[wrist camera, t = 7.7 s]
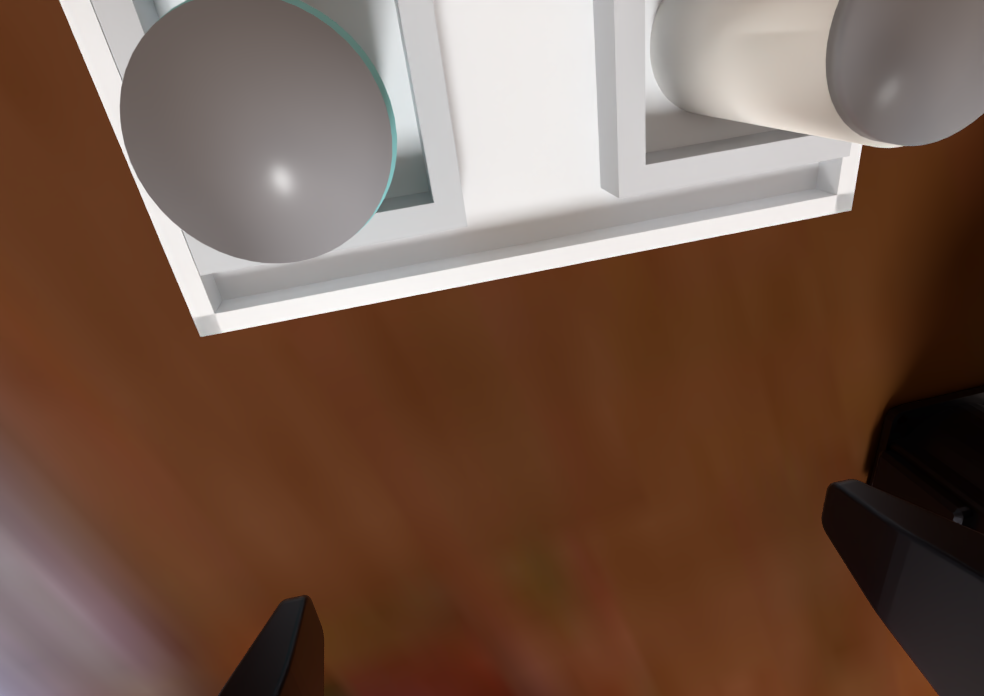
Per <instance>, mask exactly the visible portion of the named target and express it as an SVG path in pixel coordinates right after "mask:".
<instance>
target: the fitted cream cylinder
mask: <svg viewBox="0 0 984 696" xmlns="http://www.w3.org/2000/svg"><path fill="white" fill-rule="evenodd" d="M650 60H651V66H652V70H653V74H654V77H655V80H656V82H657V84H658V86H659V88H660V89H661V91H662V92H663V94H664V95H665V96H666V97H667V99H668V100H669V101H670V102H672V103H673V104H674V105H675V106H677V107H679V108H680V109H682V110H685V111H687V112H690V113H695V114H700V115H705V116H711V117H716V118H721V119H727V120H732V121H738V122H743V123H749V124H754V125H759V126H765V127H770V128H776V129H781V130H786V131H792V132H797V133H803V134H808V135H814V136H819V137H824V138H830V139H835V140H841V141H846V142H852V143H857V144H862V145H868V146H873V147H881V148H893V147H901V146H917V145H925V144H929V143H933V142H937V141H939V140H942V139H944V138H947V137H949V136H951V135H953V134H955V133H956V132H958V131H960V130H962V129H963V128H965V127H966V126H968V125H969V124H971V123H972V122H974V121H975V120H976V119H977V118H979V117H980V116H981V115H982V114H983V113H984V0H662V2H661V4H660V6H659V8H658V11H657V13H656V16H655V19H654V23H653V27H652V32H651V38H650Z"/></svg>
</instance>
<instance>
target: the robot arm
mask: <svg viewBox="0 0 984 696" xmlns="http://www.w3.org/2000/svg"><path fill="white" fill-rule="evenodd" d="M822 524H823V528H824V530H825V532H826V534H827V535H828V537H829V539H830V540H831V542H832V543H833V545H834V547H835V548H836V550H837V551H838V553H839V555H840V556H841V558H842V559H843V561H844V563H845V564H846V566H847V567H848V569H849V571H850V572H851V574H852V575H853V577H854V579H855V580H856V582H857V583H858V585H859V587H860V588H861V590H862V591H863V593H864V595H865V596H866V598H867V599H868V601H869V602H870V604H871V605H872V607H873V608H874V610H875V611H876V613H877V614H878V616H879V617H880V618H881V620H882V621H883V622H884V624H885V625H886V627H887V628H888V629H889V630H890V632H891V633H892V634H893V636H894V637H895V638H896V640H897V641H898V642H899V644H900V645H901V646H902V648H903V649H904V650H905V652H906V653H907V654H908V655H909V657H910V658H911V659H912V661H913V662H914V663H915V665H916V666H917V667H918V669H919V670H920V671H921V673H922V674H923V675H924V676H925V678H926V679H927V680H928V682H929V683H930V684H931V686H932V687H933V688H934V690H935V691H936V692H937V694H938V695H939V696H984V386H981V387H977V388H972V389H968V390H964V391H960V392H955V393H951V394H947V395H943V396H938V397H934V398H930V399H926V400H921V401H917V402H913V403H909V404H904V405H900V406H897V407H894V408H892V409H891V410H890V411H889V412H888V413H887V415H886V417H885V420H884V425H883V429H882V433H881V437H880V442H879V446H878V450H877V454H876V459H875V463H874V467H873V471H872V476H871V480H870V484H869V485H868V484H865V483H863V482H861V481H858V480H855V479H848V480H843V481H839V482H834V483H831V484H830V485H829V486H828V488H827V492H826V497H825V502H824V507H823V512H822ZM218 696H324V635H323V630H322V626H321V624H320V621H319V618H318V616H317V613H316V610H315V608H314V605H313V603H312V600H311V598H310V597H309V596H307V595H303V596H298V597H293V598H288V599H285V600H283V601H282V602H281V603H280V604H279V605H278V607H277V608H276V610H275V611H274V613H273V614H272V616H271V617H270V619H269V620H268V622H267V623H266V625H265V626H264V628H263V629H262V631H261V632H260V634H259V635H258V637H257V638H256V640H255V641H254V643H253V644H252V645H251V647H250V648H249V650H248V651H247V653H246V654H245V656H244V657H243V659H242V660H241V662H240V663H239V665H238V666H237V668H236V669H235V671H234V672H233V674H232V675H231V677H230V678H229V680H228V681H227V683H226V684H225V686H224V687H223V689H222V690H221V692H220V693H219V695H218Z"/></svg>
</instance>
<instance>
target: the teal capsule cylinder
mask: <svg viewBox="0 0 984 696" xmlns="http://www.w3.org/2000/svg"><path fill="white" fill-rule="evenodd" d="M120 123H121V130H122V135H123V140H124V145H125V148H126V150H127V153H128V156H129V159H130V162H131V164H132V166H133V169H134V171H135V173H136V175H137V177H138V179H139V181H140V182H141V184H142V185H143V187H144V188H145V190H146V192H147V193H148V195H149V196H150V197H151V199H152V200H153V201H154V202H155V204H156V205H157V206H158V207H159V209H160V210H161V211H162V212H163V213H164V214H165V215H166V216H167V217H168V218H169V219H170V220H171V221H172V222H173V223H175V224H176V225H177V226H178V227H180V228H181V229H182V230H183V231H185V232H186V233H187V234H188V235H190V236H192V237H193V238H195V239H196V240H198V241H199V242H201V243H203V244H205V245H207V246H209V247H211V248H213V249H215V250H217V251H219V252H222V253H224V254H227V255H230V256H233V257H236V258H240V259H244V260H248V261H253V262H261V263H291V262H299V261H303V260H307V259H312V258H315V257H318V256H320V255H323V254H325V253H328V252H330V251H332V250H333V249H335V248H337V247H339V246H341V245H342V244H344V243H345V242H346V241H348V240H349V239H350V238H352V237H353V236H354V235H355V234H357V233H358V232H359V231H360V230H361V229H362V228H363V227H364V226H365V225H366V224H367V223H368V222H369V221H370V220H371V218H372V217H373V216H374V214H375V213H376V212H377V211H378V209H379V207H380V205H381V204H382V202H383V200H384V198H385V196H386V194H387V192H388V189H389V187H390V184H391V181H392V177H393V173H394V170H395V163H396V155H397V132H396V124H395V117H394V113H393V109H392V105H391V101H390V98H389V96H388V93H387V91H386V88H385V85H384V83H383V81H382V79H381V77H380V75H379V73H378V72H377V70H376V68H375V66H374V65H373V63H372V62H371V60H370V59H369V57H368V56H367V54H366V53H365V52H364V50H363V49H362V48H361V47H360V46H359V45H358V43H357V42H356V41H355V40H354V39H353V38H352V36H350V35H349V34H348V33H347V32H346V31H345V30H344V29H343V28H342V27H341V26H339V25H338V24H337V23H336V22H335V21H333V20H332V19H330V18H329V17H328V16H326V15H325V14H323V13H322V12H321V11H319V10H317V9H315V8H313V7H311V6H310V5H308V4H306V3H304V2H302V1H300V0H186V1H184V2H182V3H181V4H179V5H177V6H175V7H174V8H172V9H171V10H170V11H168V12H167V13H166V14H165V15H164V16H162V17H161V18H160V19H159V20H158V21H157V22H156V23H155V24H153V26H152V27H151V28H150V29H149V30H148V31H147V33H146V34H145V35H144V36H143V37H142V38H141V40H140V42H139V43H138V45H137V46H136V48H135V50H134V51H133V53H132V55H131V57H130V60H129V62H128V65H127V67H126V70H125V73H124V78H123V82H122V86H121V94H120Z"/></svg>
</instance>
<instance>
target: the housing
mask: <svg viewBox="0 0 984 696" xmlns="http://www.w3.org/2000/svg"><path fill="white" fill-rule="evenodd" d="M59 1H60V3H61V5H62V8H63V10H64V13H65V15H66V17H67V20H68V22H69V24H70V27H71V29H72V32H73V34H74V36H75V39H76V41H77V43H78V46H79V48H80V51H81V53H82V55H83V58H84V60H85V63H86V65H87V67H88V70H89V72H90V74H91V77H92V79H93V82H94V84H95V86H96V89H97V91H98V94H99V96H100V98H101V101H102V103H103V105H104V108H105V110H106V113H107V115H108V117H109V120H110V122H111V125H112V127H113V129H114V132H115V134H116V136H117V139H118V141H119V144H120V146H121V148H122V151H123V153H124V156H125V158H126V160H127V163H128V165H129V167H130V170H131V172H132V175H133V177H134V179H135V182H136V184H137V187H138V189H139V191H140V194H141V196H142V198H143V201H144V203H145V206H146V208H147V210H148V213H149V215H150V218H151V220H152V222H153V225H154V227H155V229H156V232H157V234H158V237H159V239H160V241H161V244H162V246H163V248H164V251H165V253H166V256H167V258H168V260H169V263H170V265H171V268H172V270H173V272H174V275H175V277H176V279H177V282H178V284H179V287H180V289H181V291H182V294H183V296H184V299H185V301H186V303H187V306H188V308H189V310H190V313H191V315H192V318H193V320H194V322H195V325H196V327H197V330H198V332H199V334H200V337H203V336H208V335H213V334H219V333H224V332H229V331H234V330H239V329H244V328H249V327H255V326H260V325H265V324H270V323H275V322H280V321H285V320H290V319H296V318H301V317H306V316H311V315H316V314H321V313H326V312H332V311H337V310H342V309H347V308H352V307H357V306H362V305H367V304H373V303H378V302H383V301H388V300H393V299H398V298H403V297H409V296H414V295H419V294H424V293H429V292H434V291H439V290H445V289H450V288H455V287H460V286H465V285H470V284H475V283H480V282H486V281H491V280H496V279H501V278H506V277H511V276H516V275H522V274H527V273H532V272H537V271H542V270H547V269H552V268H557V267H563V266H568V265H573V264H578V263H583V262H588V261H593V260H599V259H604V258H609V257H614V256H619V255H624V254H629V253H634V252H640V251H645V250H650V249H655V248H660V247H665V246H670V245H676V244H681V243H686V242H691V241H696V240H701V239H706V238H712V237H717V236H722V235H727V234H732V233H737V232H742V231H747V230H753V229H758V228H763V227H768V226H773V225H778V224H783V223H789V222H794V221H799V220H804V219H809V218H814V217H819V216H824V215H830V214H835V213H840V212H845V211H850V210H851V209H852V203H853V197H854V191H855V185H856V179H857V173H858V167H859V161H860V155H861V149H862V144H857V143H852V142H846V141H841V140H835V139H830V138H824V137H819V136H814V135H808V134H803V133H797V132H792V131H786V130H781V129H776V128H770V127H765V126H759V125H754V124H749V123H743V122H738V121H732V120H727V119H721V118H716V117H711V116H705V115H700V114H695V113H690V112H687V111H685V110H682V109H680V108H679V107H677V106H675V105H674V104H673V103H672V102H670V101H669V100H668V99H667V97H666V96H665V95H664V94H663V92H662V91H661V89H660V88H659V86H658V84H657V82H656V80H655V77H654V74H653V70H652V66H651V60H650V38H651V32H652V27H653V23H654V19H655V16H656V13H657V11H658V8H659V6H660V4H661V2H662V0H300V1H302V2H304V3H306V4H308V5H310V6H311V7H313V8H315V9H317V10H319V11H321V12H322V13H323V14H325V15H326V16H328V17H329V18H330V19H332V20H333V21H335V22H336V23H337V24H338V25H339V26H341V27H342V28H343V29H344V30H345V31H346V32H347V33H348V34H349V35H350V36H352V38H353V39H354V40H355V41H356V42H357V43H358V45H359V46H360V47H361V48H362V49H363V50H364V52H365V53H366V54H367V56H368V57H369V59H370V60H371V62H372V63H373V65H374V66H375V68H376V70H377V72H378V73H379V75H380V77H381V79H382V81H383V83H384V85H385V88H386V91H387V93H388V96H389V98H390V101H391V105H392V109H393V113H394V117H395V124H396V132H397V155H396V163H395V170H394V173H393V177H392V181H391V184H390V187H389V189H388V192H387V194H386V196H385V198H384V200H383V202H382V204H381V205H380V207H379V209H378V211H377V212H376V213H375V214H374V216H373V217H372V218H371V220H370V221H369V222H368V223H367V224H366V225H365V226H364V227H363V228H362V229H361V230H360V231H359V232H358V233H357V234H355V235H354V236H353V237H352V238H350V239H349V240H348V241H346V242H345V243H344V244H342V245H341V246H339V247H337V248H335V249H333V250H332V251H330V252H328V253H325V254H323V255H320V256H318V257H315V258H312V259H307V260H303V261H299V262H291V263H261V262H253V261H248V260H244V259H240V258H236V257H233V256H230V255H227V254H224V253H222V252H219V251H217V250H215V249H213V248H211V247H209V246H207V245H205V244H203V243H201V242H199V241H198V240H196V239H195V238H193V237H192V236H190V235H188V234H187V233H186V232H185V231H183V230H182V229H181V228H180V227H178V226H177V225H176V224H175V223H173V222H172V221H171V220H170V219H169V218H168V217H167V216H166V215H165V214H164V213H163V212H162V211H161V210H160V209H159V207H158V206H157V205H156V204H155V202H154V201H153V200H152V199H151V197H150V196H149V195H148V193H147V192H146V190H145V188H144V187H143V185H142V184H141V182H140V181H139V179H138V177H137V175H136V173H135V171H134V169H133V166H132V164H131V162H130V159H129V156H128V153H127V150H126V148H125V145H124V140H123V135H122V130H121V123H120V94H121V86H122V82H123V78H124V73H125V70H126V67H127V65H128V62H129V60H130V57H131V55H132V53H133V51H134V50H135V48H136V46H137V45H138V43H139V42H140V40H141V38H142V37H143V36H144V35H145V34H146V33H147V31H148V30H149V29H150V28H151V27H152V26H153V24H155V23H156V22H157V21H158V20H159V19H160V18H161V17H162V16H164V15H165V14H166V13H167V12H168V11H170V10H171V9H172V8H174V7H175V6H177V5H179V4H181V3H182V2H184V1H186V0H59Z"/></svg>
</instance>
